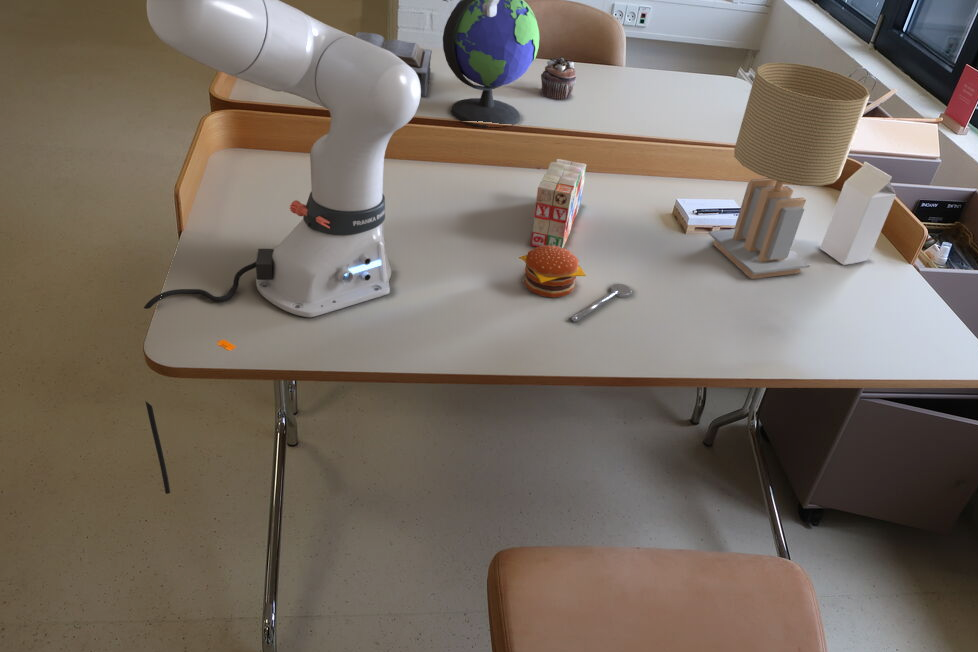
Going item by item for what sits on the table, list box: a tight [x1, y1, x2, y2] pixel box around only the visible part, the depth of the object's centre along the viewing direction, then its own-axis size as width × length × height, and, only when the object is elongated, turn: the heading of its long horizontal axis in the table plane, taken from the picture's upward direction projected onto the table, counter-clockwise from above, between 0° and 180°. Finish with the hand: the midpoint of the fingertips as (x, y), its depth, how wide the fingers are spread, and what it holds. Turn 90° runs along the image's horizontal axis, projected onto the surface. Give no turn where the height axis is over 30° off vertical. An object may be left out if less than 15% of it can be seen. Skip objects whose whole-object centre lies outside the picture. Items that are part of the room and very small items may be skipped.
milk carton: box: [819, 161, 897, 266], centre depth 164 cm, size 7×7×19 cm
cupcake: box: [540, 56, 577, 101], centre depth 223 cm, size 10×10×10 cm
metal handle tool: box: [571, 283, 632, 323], centre depth 142 cm, size 16×4×1 cm, turn 142°
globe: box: [442, 0, 540, 129], centre depth 198 cm, size 22×22×30 cm
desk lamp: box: [707, 61, 871, 280], centre depth 153 cm, size 20×20×35 cm
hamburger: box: [518, 245, 587, 298], centre depth 143 cm, size 9×10×7 cm
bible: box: [353, 31, 433, 98], centre depth 215 cm, size 23×27×10 cm
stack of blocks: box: [529, 158, 587, 248], centre depth 160 cm, size 21×6×12 cm, turn 168°
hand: (467, 7), depth 133 cm, fingers open, 8 cm apart
